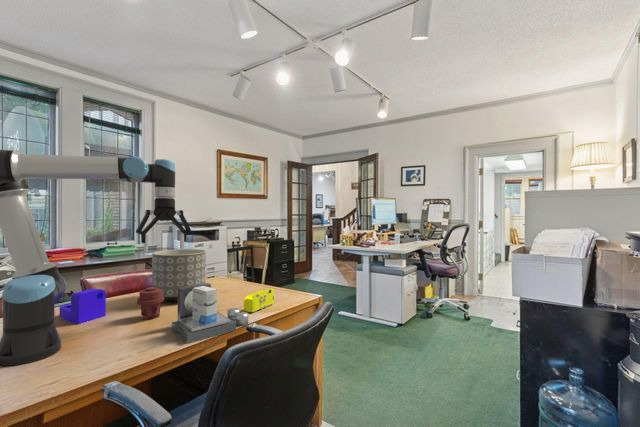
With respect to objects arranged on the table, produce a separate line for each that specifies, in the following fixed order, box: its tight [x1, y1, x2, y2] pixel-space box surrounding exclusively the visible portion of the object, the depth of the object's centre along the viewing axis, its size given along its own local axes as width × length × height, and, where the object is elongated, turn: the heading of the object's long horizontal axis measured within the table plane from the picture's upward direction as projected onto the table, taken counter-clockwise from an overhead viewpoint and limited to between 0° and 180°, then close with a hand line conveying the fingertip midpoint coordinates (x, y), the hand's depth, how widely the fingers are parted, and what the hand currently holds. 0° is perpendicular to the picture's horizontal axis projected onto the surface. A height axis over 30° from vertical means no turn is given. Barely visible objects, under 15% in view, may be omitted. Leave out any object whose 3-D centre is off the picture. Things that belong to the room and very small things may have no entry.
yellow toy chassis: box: [243, 288, 275, 313], centre depth 144 cm, size 16×6×8 cm, turn 153°
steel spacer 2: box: [235, 311, 249, 327], centre depth 124 cm, size 5×5×4 cm
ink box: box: [193, 286, 218, 323], centre depth 116 cm, size 8×5×12 cm, turn 55°
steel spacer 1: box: [226, 307, 241, 321], centre depth 129 cm, size 5×5×4 cm
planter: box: [151, 248, 207, 302], centre depth 160 cm, size 25×25×24 cm
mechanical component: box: [136, 286, 165, 321], centre depth 130 cm, size 12×10×10 cm
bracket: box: [59, 288, 107, 325], centre depth 130 cm, size 18×11×12 cm, turn 72°
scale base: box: [171, 282, 237, 344], centre depth 117 cm, size 18×19×15 cm
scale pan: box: [179, 312, 230, 332], centre depth 116 cm, size 14×13×1 cm
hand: (164, 250), depth 127 cm, fingers open, 13 cm apart
